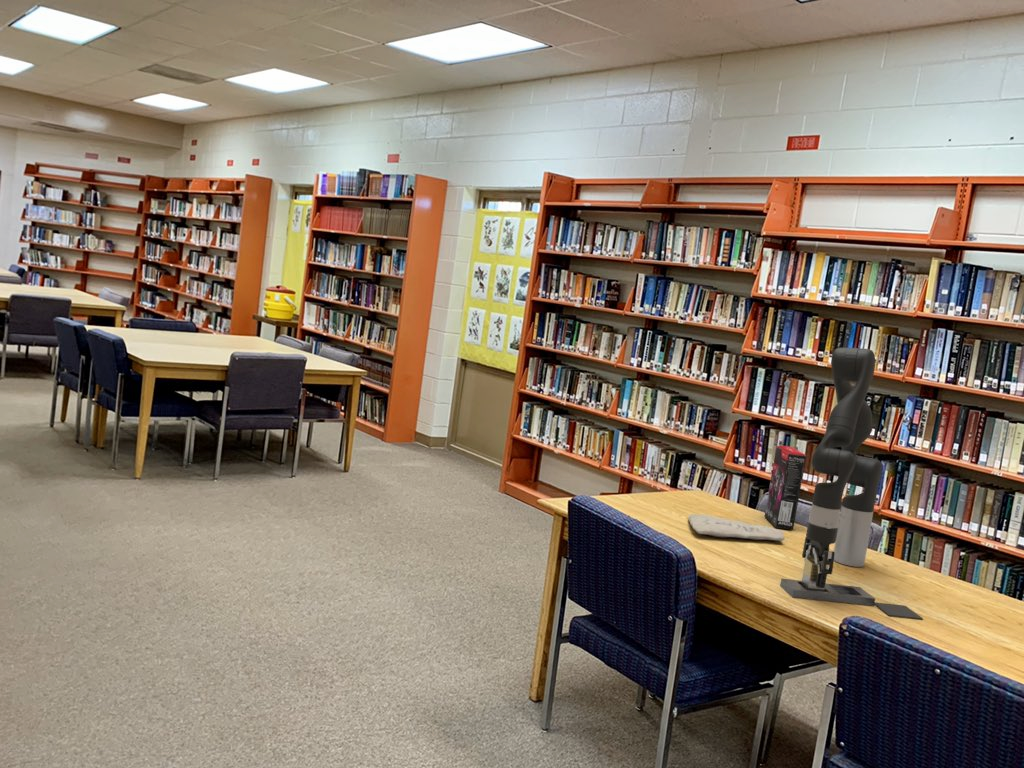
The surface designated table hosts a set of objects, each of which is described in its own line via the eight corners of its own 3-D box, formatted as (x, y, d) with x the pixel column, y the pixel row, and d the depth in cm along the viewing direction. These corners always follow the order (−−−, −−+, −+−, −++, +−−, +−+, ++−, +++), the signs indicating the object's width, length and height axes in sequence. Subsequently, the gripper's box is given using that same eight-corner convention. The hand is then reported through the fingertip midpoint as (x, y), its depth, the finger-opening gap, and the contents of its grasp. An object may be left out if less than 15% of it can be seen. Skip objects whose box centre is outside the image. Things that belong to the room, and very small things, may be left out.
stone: (693, 538, 272) (790, 552, 270) (695, 523, 272) (792, 537, 270) (685, 521, 298) (773, 534, 295) (687, 507, 297) (775, 520, 295)
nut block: (800, 590, 232) (805, 558, 231) (816, 592, 232) (821, 559, 231) (806, 596, 227) (812, 563, 226) (823, 598, 227) (828, 565, 226)
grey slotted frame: (780, 585, 234) (781, 578, 233) (858, 594, 235) (860, 587, 235) (792, 597, 225) (793, 589, 224) (873, 606, 226) (875, 598, 226)
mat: (872, 603, 228) (872, 602, 228) (905, 607, 228) (905, 605, 228) (888, 616, 219) (888, 614, 219) (922, 619, 219) (922, 618, 219)
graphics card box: (763, 516, 317) (774, 444, 314) (781, 519, 316) (793, 446, 314) (775, 529, 300) (787, 452, 297) (795, 531, 299) (807, 454, 297)
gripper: (799, 514, 234) (790, 571, 236) (820, 528, 220) (810, 589, 222) (826, 517, 235) (816, 574, 236) (848, 531, 221) (838, 592, 222)
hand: (813, 582), depth 229 cm, fingers open, 8 cm apart
